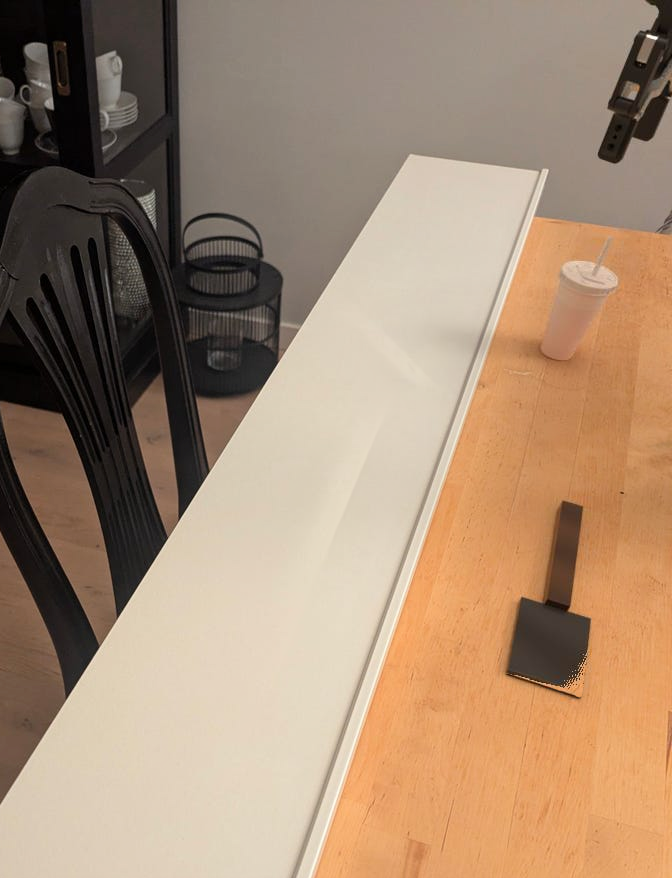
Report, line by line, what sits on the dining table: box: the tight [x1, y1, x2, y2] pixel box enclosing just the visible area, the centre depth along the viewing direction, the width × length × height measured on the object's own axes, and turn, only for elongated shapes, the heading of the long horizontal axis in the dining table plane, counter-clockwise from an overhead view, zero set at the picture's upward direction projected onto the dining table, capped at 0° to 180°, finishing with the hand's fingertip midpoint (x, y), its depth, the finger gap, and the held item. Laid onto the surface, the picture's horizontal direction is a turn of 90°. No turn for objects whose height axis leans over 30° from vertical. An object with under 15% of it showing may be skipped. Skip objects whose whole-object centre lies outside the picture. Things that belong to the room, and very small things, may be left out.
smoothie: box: [540, 235, 619, 361], centre depth 103 cm, size 6×6×14 cm
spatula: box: [505, 499, 592, 689], centre depth 80 cm, size 24×6×1 cm, turn 159°
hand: (624, 149), depth 87 cm, fingers open, 8 cm apart
